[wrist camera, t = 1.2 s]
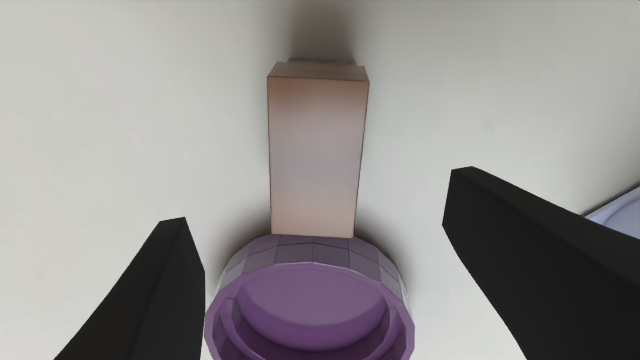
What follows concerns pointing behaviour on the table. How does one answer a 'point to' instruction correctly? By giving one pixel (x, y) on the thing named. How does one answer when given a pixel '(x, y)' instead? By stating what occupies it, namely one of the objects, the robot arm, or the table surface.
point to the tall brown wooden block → (315, 145)
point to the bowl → (309, 302)
